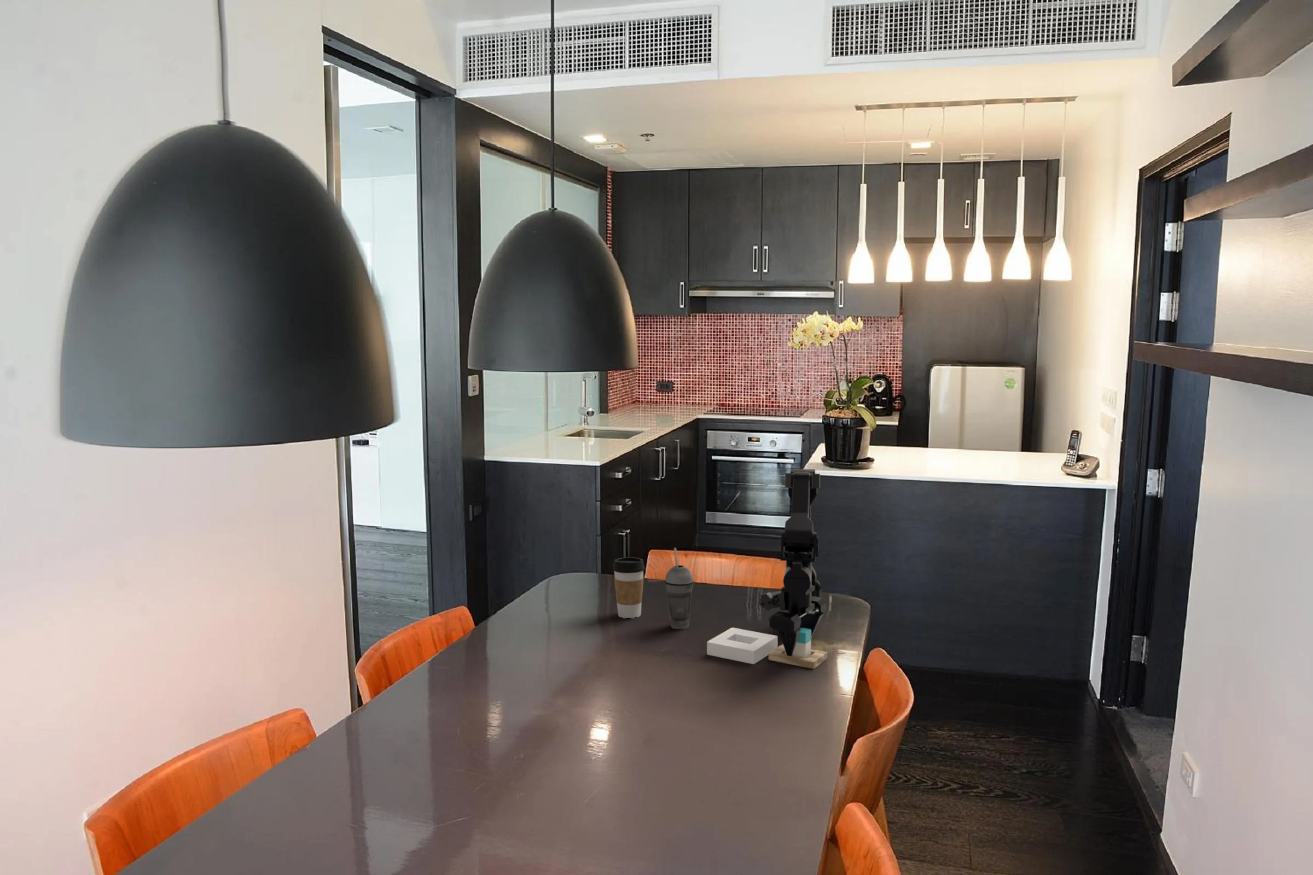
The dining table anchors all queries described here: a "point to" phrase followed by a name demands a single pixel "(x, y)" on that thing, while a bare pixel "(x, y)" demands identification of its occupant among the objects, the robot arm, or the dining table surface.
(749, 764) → the dining table surface
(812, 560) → the robot arm
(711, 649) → the port block
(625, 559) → the coffee cup
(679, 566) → the beverage cup
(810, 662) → the holster
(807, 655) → the plug
